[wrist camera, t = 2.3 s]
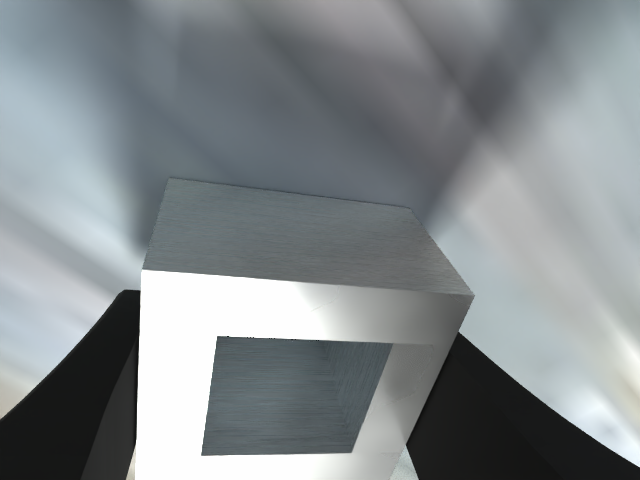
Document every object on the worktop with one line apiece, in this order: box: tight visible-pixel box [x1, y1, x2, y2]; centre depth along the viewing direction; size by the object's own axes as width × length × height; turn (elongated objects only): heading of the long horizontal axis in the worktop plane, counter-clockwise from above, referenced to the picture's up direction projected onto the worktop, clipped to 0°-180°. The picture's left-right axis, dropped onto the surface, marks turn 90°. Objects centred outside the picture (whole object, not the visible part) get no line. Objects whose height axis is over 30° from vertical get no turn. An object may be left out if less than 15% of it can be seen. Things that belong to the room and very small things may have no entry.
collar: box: [136, 178, 475, 480], centre depth 10 cm, size 6×6×4 cm
